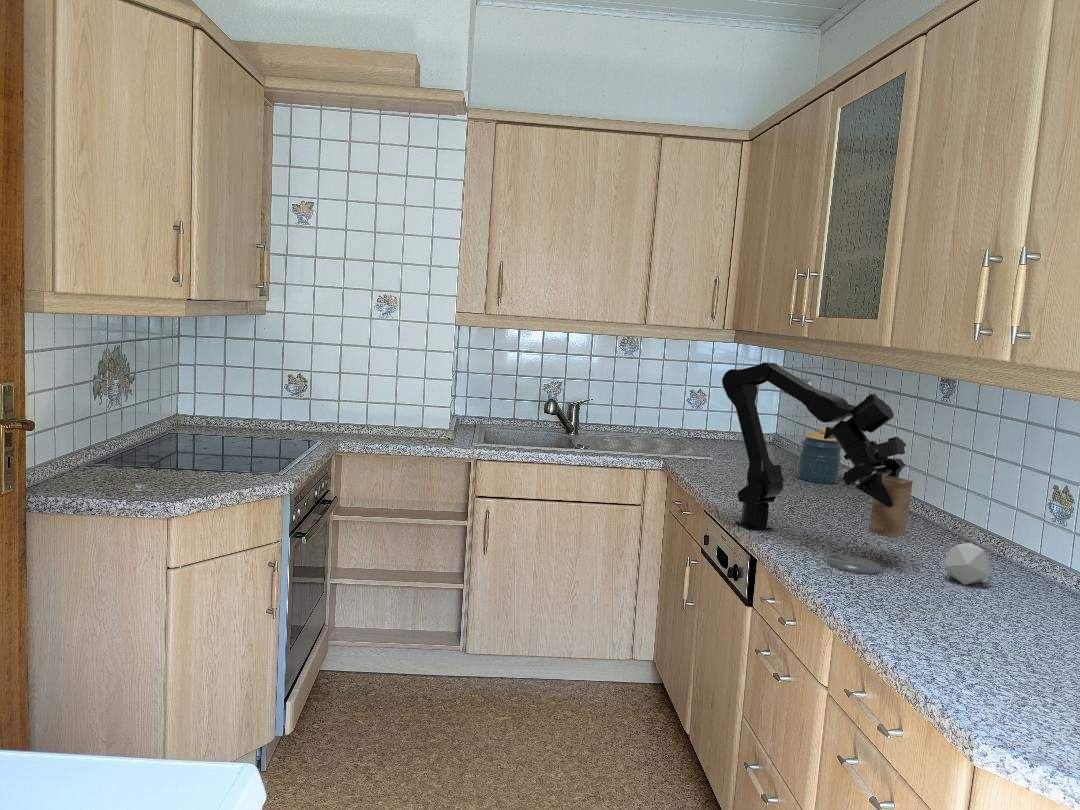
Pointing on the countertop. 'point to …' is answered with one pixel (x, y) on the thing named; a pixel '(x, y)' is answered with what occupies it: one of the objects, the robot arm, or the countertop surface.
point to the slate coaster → (853, 564)
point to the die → (967, 563)
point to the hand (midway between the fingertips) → (897, 505)
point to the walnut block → (892, 508)
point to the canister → (819, 458)
